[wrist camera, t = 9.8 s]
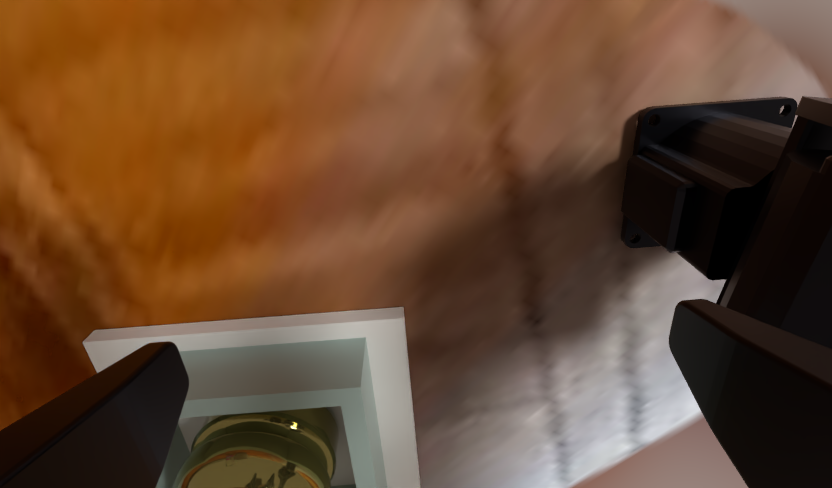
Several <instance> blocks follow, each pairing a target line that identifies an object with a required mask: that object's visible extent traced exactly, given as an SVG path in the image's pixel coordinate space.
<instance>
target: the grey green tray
mask: <svg viewBox="0 0 832 488" xmlns="http://www.w3.org/2000/svg"><path fill="white" fill-rule="evenodd" d="M166 341H170V342H173V343H175V345H176V346H177V348H178V350H179V352H180V355H181V358H182V360H183V363H184V366H185V368H186V371H187V373H188V377H189V389H188V393H187V396H186V399H185V402H184V406H183V409H182V412H181V415H180V418H179V422H178V425H177V428H176V431H175V434H174V437H173V441H172V444H171V447H170V450H169V453H168V456H167V459H166V462H165V465H164V468H163V471H162V473H161V476H160V478H159V481H158V483H157V486H156V488H173V484H174V480H175V477H176V475H177V473H178V471H179V469H180V468H181V466H182V465H183V463H184V462H185V460H186V459H187V458H188V456H189V455H190V454H191V446H192V443H193V440H194V438H195V436H196V435H197V433H198V432H199V431H200V430H201V428H202V426H203V423H204V421H205V419H206V417H207V416H215V415H228V414H241V413H255V412H268V411H281V410H294V409H308V408H321V407H326V408H327V409H328V410H329V412H330V413H331V414H332V416H333V418H334V420H335V422H336V424H337V427H338V433H339V440H338V446H337V453H336V470H335V473H334V476H333V478H332V480H331V488H421V485H420V475H419V464H418V454H417V443H416V433H415V422H414V412H413V401H412V391H411V380H410V370H409V359H408V349H407V338H406V328H405V317H404V307H394V308H381V309H367V310H354V311H341V312H328V313H314V314H301V315H288V316H275V317H261V318H248V319H235V320H222V321H208V322H195V323H182V324H169V325H155V326H142V327H129V328H116V329H102V330H94V331H93V332H92V333H91V334H90V335H89V336H88V337H87V338H86V339H85V340H84V341H83V342H82V343H83V345H84V347H85V349H86V351H87V353H88V355H89V357H90V359H91V361H92V363H93V365H94V367H95V369H96V371H97V373H99V372H100V371H102V370H104V369H105V368H107V367H109V366H110V365H112V364H114V363H115V362H117V361H119V360H120V359H122V358H124V357H126V356H127V355H129V354H131V353H132V352H134V351H136V350H137V349H139V348H141V347H142V346H144V345H146V344H148V343H154V342H166Z"/></svg>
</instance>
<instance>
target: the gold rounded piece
mask: <svg viewBox="0 0 832 488" xmlns="http://www.w3.org/2000/svg"><path fill="white" fill-rule="evenodd" d="M338 440H339V433H338V427H337V424H336V422H335V420H334V418H333V416H332V414H331V413H330V412H329V410H328V409H327V408H326V407H321V408H308V409H294V410H281V411H268V412H255V413H241V414H228V415H215V416H207V417H206V419H205V421H204V423H203V426H202V428H201V430H200V431H199V432H198V433H197V435H196V436H195V438H194V440H193V443H192V446H191V454H190V455H189V456H188V458H187V459H186V460H185V462H184V463H183V465H182V466H181V468H180V469H179V471H178V473H177V475H176V477H175V480H174V484H173V488H331V480H332V478H333V476H334V473H335V470H336V453H337V446H338Z"/></svg>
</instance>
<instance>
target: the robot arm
mask: <svg viewBox="0 0 832 488" xmlns="http://www.w3.org/2000/svg"><path fill="white" fill-rule="evenodd" d="M783 105H784V109H783V111H782V112H781V113H780V114H779V110H780V108H781V107H782V106H783ZM654 114H655V116H656V119H655V121H654V122H653V123H652V124H649V123H648V120H649V118H650V117H651V116H652V115H654ZM795 115H798V117H797V119H796V122H795V124H794V126H793V128H792V125H793V122H794V118H795ZM621 211H622V213H623V214H624V219H623V226H622V233H621V240H622V241H623V243H624V244H625V245H626V246H628V247H630V248H641V247H654V246H662V247H663V248H665V249H666V250H667V251H668V252H670V253H674V252H676V253H678V254H679V255H680V256H681V257H682V258H684V259H685V260H686V261H687V262H689V263H690V264H691V265H692V266H693V267H695V268H696V269H697V270H698V271H699V272H701V273H702V274H703V275H704V276H706V277H707V278H708V279H710V280H721V279H725V280H726V282H725V284H724V287H723V289H722V291H721V294H720V296H719V298H718V300H717V303H713V302H710V301H708V300H705V299H696V300H684V301H681V302H679V303H678V304H677V306H676V308H675V312H674V316H673V321H672V326H671V330H670V335H669V346H670V350H671V352H672V354H673V356H674V358H675V360H676V362H677V364H678V366H679V368H680V370H681V372H682V374H683V376H684V378H685V380H686V382H687V384H688V386H689V388H690V390H691V392H692V394H693V396H694V398H695V400H696V402H697V403H698V405H699V407H700V409H701V411H702V413H703V415H704V417H705V419H706V421H707V422H708V424H709V426H710V428H711V429H712V431H713V433H714V434H715V436H716V438H717V439H718V441H719V443H720V444H721V446H722V447H723V449H724V450H725V452H726V453H727V455H728V456H729V458H730V459H731V461H732V463H733V464H734V466H735V467H736V469H737V470H738V472H739V474H740V475H741V476H742V478H743V480H744V481H745V483H746V485H747V486H748V487H749V488H832V99H831V98H818V97H806V96H802V98H801V100H800V103H799V105H798V107H797V102H796V101H795V100H794V99H792V98H786V97H772V98H758V99H745V100H732V101H719V102H705V103H692V104H679V105H665V106H652V107H648V108H646V109H644V110H643V111H642V112H641V114H640V115H639V118H638V123H637V130H636V137H635V143H634V150H633V156H632V157H631V158H630V159H629V161H628V166H627V173H626V180H625V187H624V194H623V201H622V208H621ZM633 234H637V235H636V237H635V238H634V239H632V240H630V238H631V236H632V235H633ZM188 389H189V377H188V373H187V371H186V368H185V366H184V363H183V360H182V358H181V355H180V352H179V350H178V348H177V346H176V345H175V343H173V342H170V341H166V342H154V343H148V344H146V345H144V346H142V347H141V348H139V349H137V350H136V351H134V352H132V353H131V354H129V355H127V356H126V357H124V358H122V359H120V360H119V361H117V362H115V363H114V364H112V365H110V366H109V367H107V368H105V369H104V370H102V371H100V372H99V373H97V374H95V375H94V376H92V377H90V378H88V379H87V380H85V381H83V382H82V383H80V384H78V385H77V386H75V387H73V388H72V389H70V390H68V391H67V392H65V393H63V394H62V395H60V396H58V397H56V398H55V399H53V400H51V401H50V402H48V403H46V404H45V405H43V406H41V407H40V408H38V409H36V410H35V411H33V412H31V413H30V414H28V415H26V416H24V417H23V418H21V419H19V420H18V421H16V422H14V423H13V424H11V425H9V426H8V427H6V428H4V429H3V430H1V431H0V488H156V486H157V483H158V481H159V478H160V476H161V473H162V471H163V468H164V465H165V462H166V459H167V456H168V453H169V450H170V447H171V444H172V441H173V437H174V434H175V431H176V428H177V425H178V422H179V418H180V415H181V412H182V409H183V406H184V402H185V399H186V396H187V393H188Z"/></svg>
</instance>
